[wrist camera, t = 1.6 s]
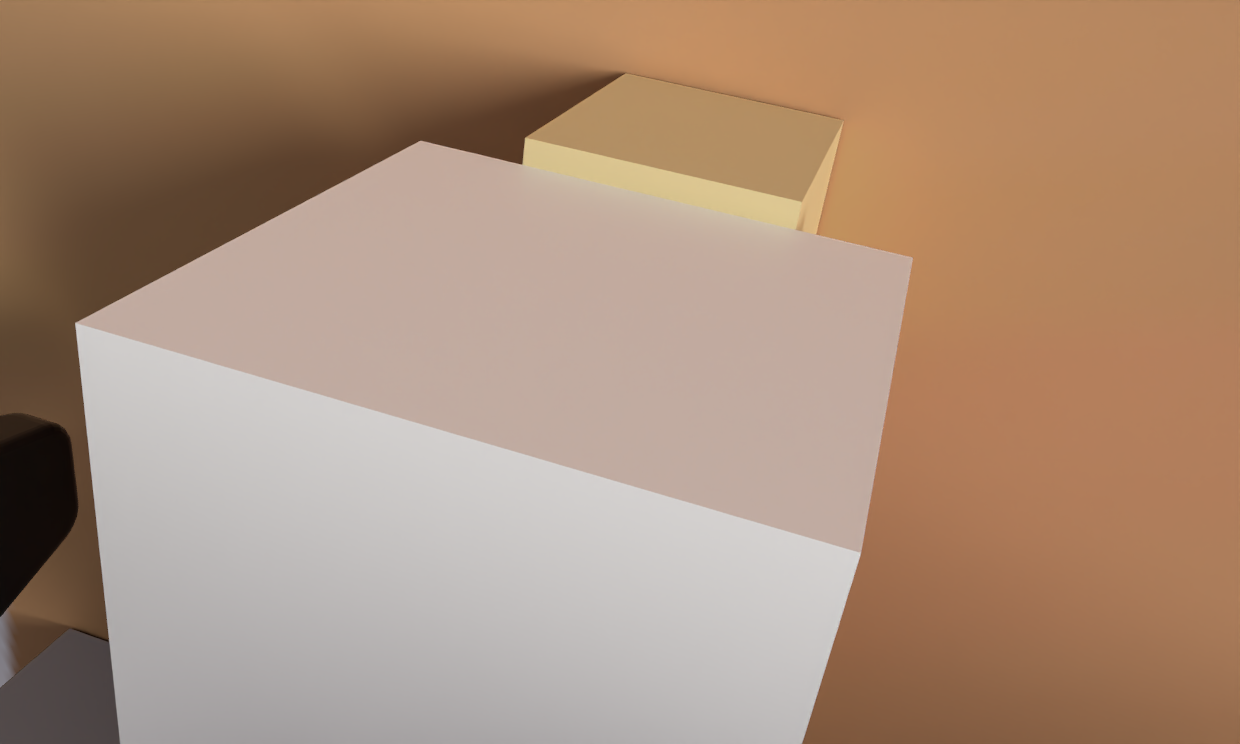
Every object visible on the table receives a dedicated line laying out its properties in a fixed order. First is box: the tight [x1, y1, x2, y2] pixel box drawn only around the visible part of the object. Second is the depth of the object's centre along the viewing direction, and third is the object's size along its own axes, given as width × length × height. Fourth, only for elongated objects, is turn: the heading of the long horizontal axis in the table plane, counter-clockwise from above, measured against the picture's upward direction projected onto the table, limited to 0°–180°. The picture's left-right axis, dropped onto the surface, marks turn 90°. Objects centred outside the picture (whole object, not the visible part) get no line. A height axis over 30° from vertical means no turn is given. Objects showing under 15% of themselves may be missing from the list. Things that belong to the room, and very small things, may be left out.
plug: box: [75, 73, 913, 744], centre depth 9 cm, size 4×9×6 cm, turn 172°
